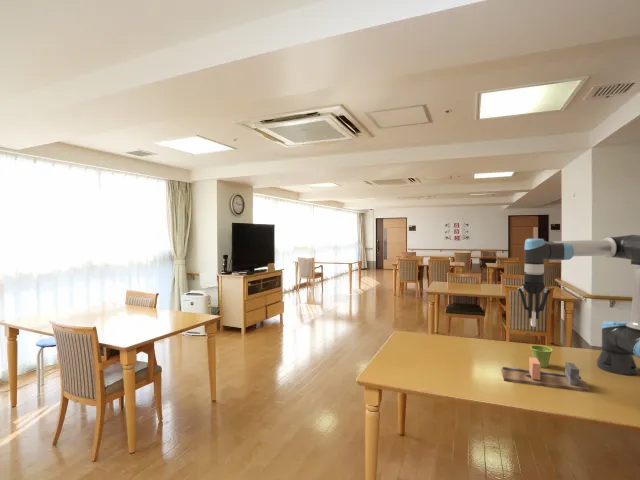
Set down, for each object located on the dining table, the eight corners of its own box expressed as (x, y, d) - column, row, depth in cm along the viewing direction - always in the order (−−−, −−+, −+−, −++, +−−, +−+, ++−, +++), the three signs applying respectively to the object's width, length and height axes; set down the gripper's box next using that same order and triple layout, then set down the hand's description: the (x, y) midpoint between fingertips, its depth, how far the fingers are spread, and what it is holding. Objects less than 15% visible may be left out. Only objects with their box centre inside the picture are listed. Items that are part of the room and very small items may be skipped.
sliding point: (536, 373, 165) (536, 357, 165) (540, 379, 158) (540, 364, 158) (529, 372, 167) (529, 357, 166) (532, 378, 159) (532, 363, 159)
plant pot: (555, 369, 173) (556, 352, 173) (534, 368, 175) (534, 350, 175) (547, 362, 182) (547, 345, 182) (527, 361, 184) (527, 344, 184)
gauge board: (581, 380, 161) (581, 362, 161) (590, 392, 150) (590, 372, 150) (501, 370, 173) (501, 353, 172) (504, 380, 161) (504, 362, 161)
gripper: (549, 272, 162) (548, 324, 163) (516, 271, 167) (515, 322, 168) (553, 274, 155) (552, 329, 156) (518, 273, 160) (517, 326, 161)
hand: (533, 325), depth 162 cm, fingers closed
